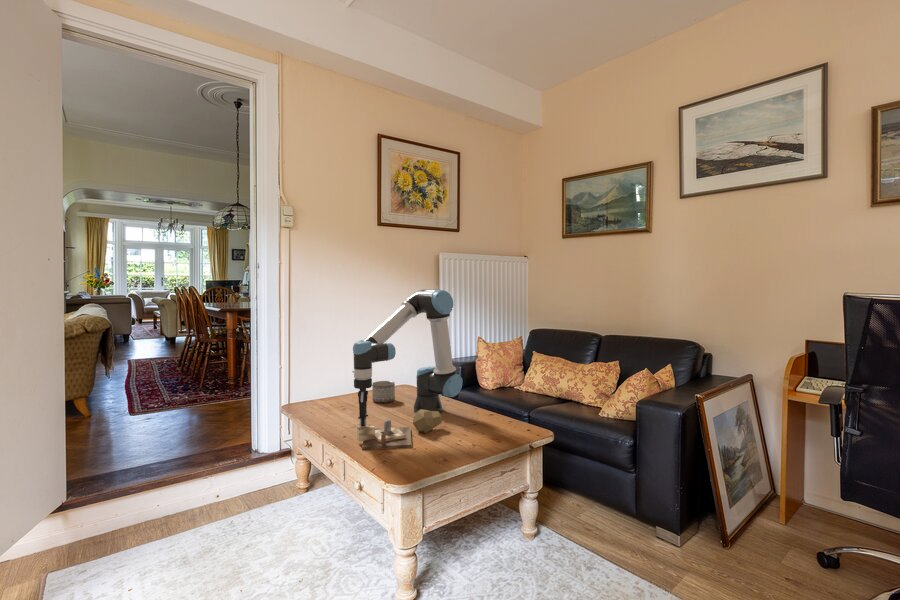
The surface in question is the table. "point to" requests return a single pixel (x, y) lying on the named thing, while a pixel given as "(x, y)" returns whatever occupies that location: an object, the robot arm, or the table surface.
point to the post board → (389, 444)
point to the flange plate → (378, 434)
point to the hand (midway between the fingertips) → (363, 432)
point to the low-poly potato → (426, 420)
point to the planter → (383, 391)
